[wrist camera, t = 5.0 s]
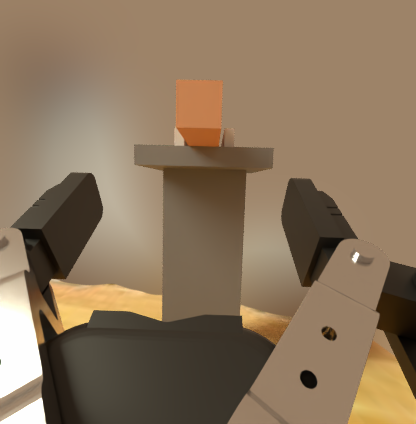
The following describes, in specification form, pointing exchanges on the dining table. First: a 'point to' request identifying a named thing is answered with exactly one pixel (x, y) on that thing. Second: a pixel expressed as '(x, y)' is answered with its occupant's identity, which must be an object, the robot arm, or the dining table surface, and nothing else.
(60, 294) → the dining table surface
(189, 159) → the stand
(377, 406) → the dining table surface
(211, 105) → the bar
